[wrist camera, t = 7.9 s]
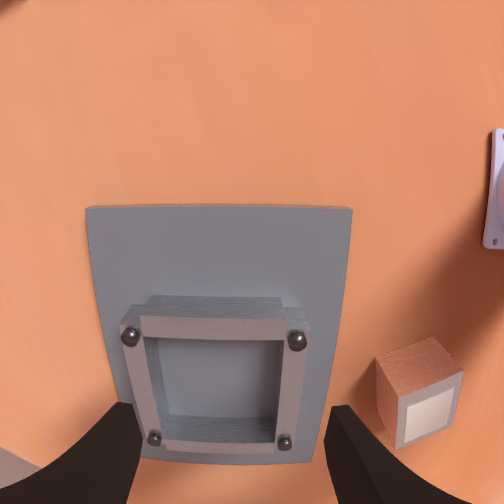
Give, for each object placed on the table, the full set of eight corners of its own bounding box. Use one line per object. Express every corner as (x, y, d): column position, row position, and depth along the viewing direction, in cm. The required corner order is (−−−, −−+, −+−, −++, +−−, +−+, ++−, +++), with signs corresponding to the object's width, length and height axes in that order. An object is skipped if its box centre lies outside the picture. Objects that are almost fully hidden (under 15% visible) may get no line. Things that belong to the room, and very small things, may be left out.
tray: (347, 207, 17) (372, 221, 13) (309, 455, 23) (316, 488, 19) (91, 206, 16) (59, 219, 13) (141, 450, 22) (132, 482, 19)
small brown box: (432, 335, 20) (464, 370, 15) (428, 390, 21) (452, 426, 17) (374, 356, 20) (399, 398, 16) (376, 409, 22) (395, 450, 17)
